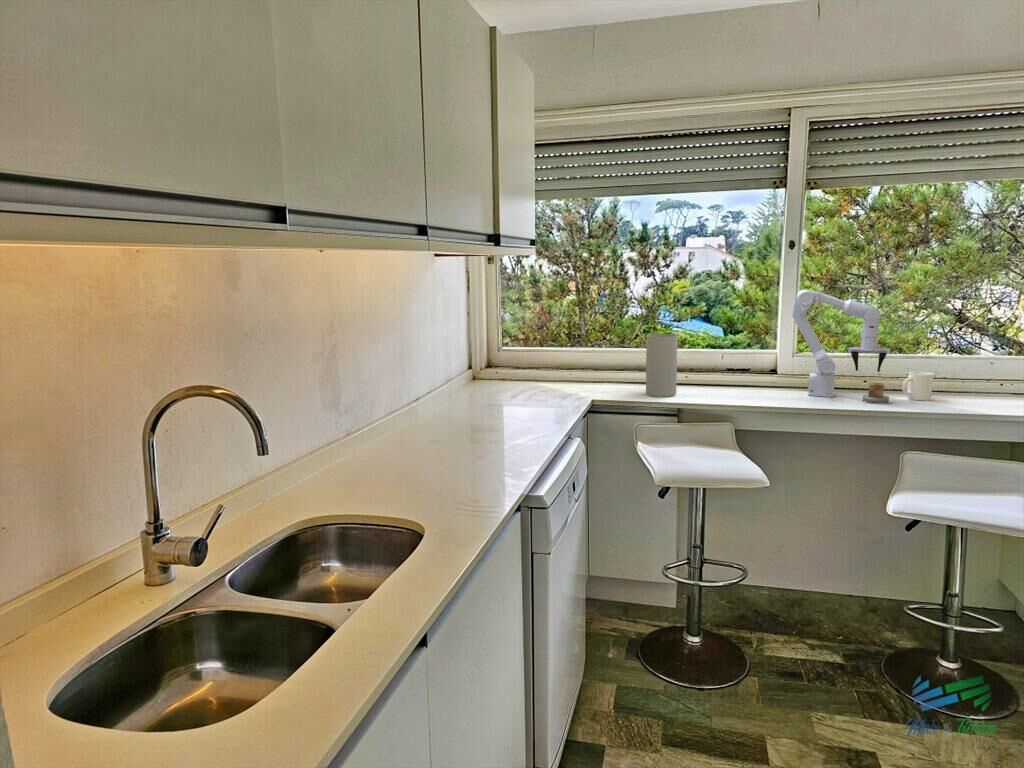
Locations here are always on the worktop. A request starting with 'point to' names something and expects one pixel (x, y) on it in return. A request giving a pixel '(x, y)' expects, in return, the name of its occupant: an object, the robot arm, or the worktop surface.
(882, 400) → the slate pedestal
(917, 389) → the mug
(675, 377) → the cylinder vase
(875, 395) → the walnut cube
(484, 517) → the worktop surface
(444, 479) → the worktop surface
